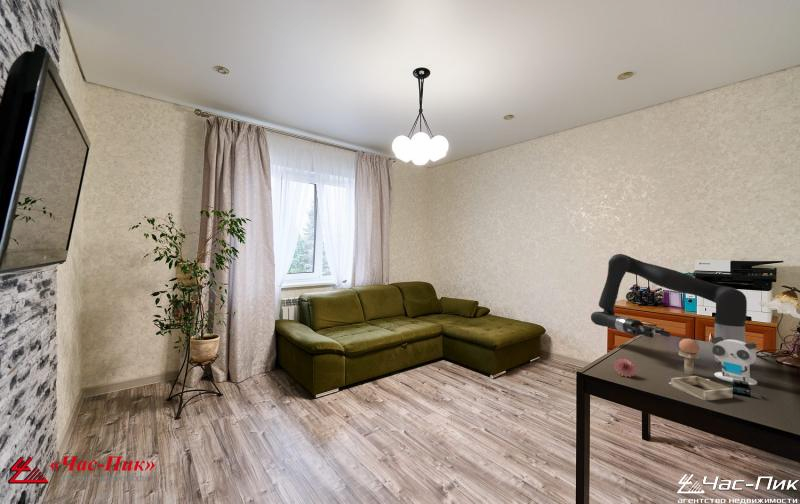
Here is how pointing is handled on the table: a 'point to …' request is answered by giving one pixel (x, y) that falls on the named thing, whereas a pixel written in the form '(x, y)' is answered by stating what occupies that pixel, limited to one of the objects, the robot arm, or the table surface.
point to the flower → (625, 367)
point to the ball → (689, 346)
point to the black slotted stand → (744, 393)
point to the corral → (712, 394)
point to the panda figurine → (734, 359)
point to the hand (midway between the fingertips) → (661, 335)
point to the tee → (689, 362)
